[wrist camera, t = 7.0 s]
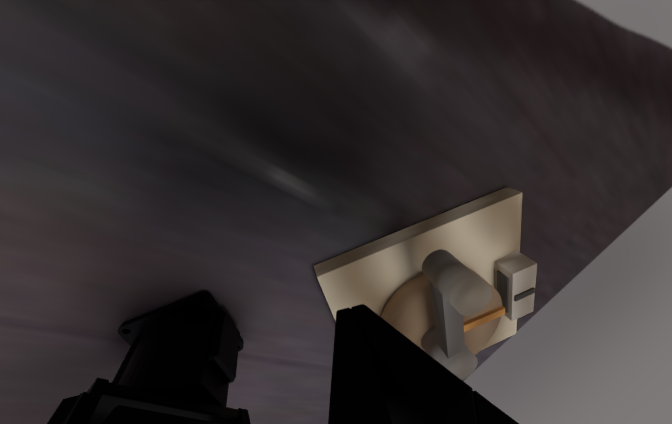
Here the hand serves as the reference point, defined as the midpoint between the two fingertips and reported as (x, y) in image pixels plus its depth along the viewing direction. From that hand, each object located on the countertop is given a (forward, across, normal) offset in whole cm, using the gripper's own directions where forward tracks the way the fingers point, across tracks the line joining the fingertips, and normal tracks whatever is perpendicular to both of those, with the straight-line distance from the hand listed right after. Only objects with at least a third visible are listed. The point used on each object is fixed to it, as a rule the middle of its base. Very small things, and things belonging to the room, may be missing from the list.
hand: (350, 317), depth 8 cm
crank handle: (+10, -10, +11) cm, 18 cm away
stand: (+12, -11, +13) cm, 21 cm away
